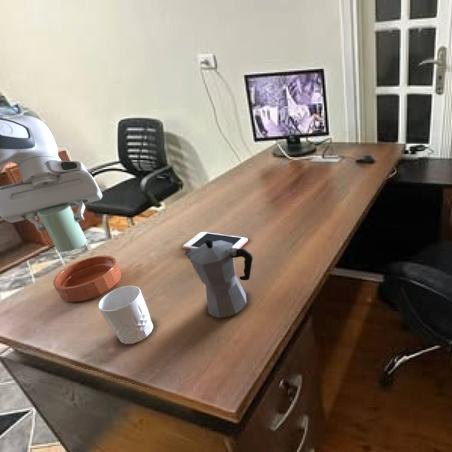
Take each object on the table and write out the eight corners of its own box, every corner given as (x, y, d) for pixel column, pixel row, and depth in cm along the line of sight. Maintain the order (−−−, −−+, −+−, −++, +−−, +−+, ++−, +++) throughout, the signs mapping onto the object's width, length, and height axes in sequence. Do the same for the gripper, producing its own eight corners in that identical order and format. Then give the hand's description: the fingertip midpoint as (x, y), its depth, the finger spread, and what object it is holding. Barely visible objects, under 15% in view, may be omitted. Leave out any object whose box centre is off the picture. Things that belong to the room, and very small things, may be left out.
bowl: (76, 311, 85) (66, 295, 83) (53, 292, 93) (44, 277, 90) (132, 279, 95) (125, 264, 93) (107, 264, 103) (100, 250, 100)
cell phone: (202, 233, 114) (201, 231, 114) (248, 240, 108) (248, 237, 107) (183, 248, 107) (182, 245, 106) (231, 256, 101) (231, 253, 100)
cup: (63, 254, 84) (43, 217, 79) (52, 247, 87) (32, 212, 82) (91, 242, 88) (74, 206, 83) (80, 236, 91) (62, 201, 86)
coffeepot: (192, 318, 80) (167, 252, 71) (210, 291, 88) (189, 229, 79) (257, 319, 77) (239, 252, 68) (269, 291, 85) (255, 228, 77)
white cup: (115, 352, 73) (95, 316, 68) (118, 327, 79) (100, 293, 74) (156, 337, 75) (139, 302, 70) (156, 315, 81) (141, 281, 77)
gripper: (-16, 181, 79) (0, 235, 77) (87, 160, 88) (105, 207, 86) (-2, 194, 85) (14, 244, 82) (94, 172, 94) (111, 217, 91)
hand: (61, 225), depth 84 cm, fingers closed on cup, 6 cm apart
